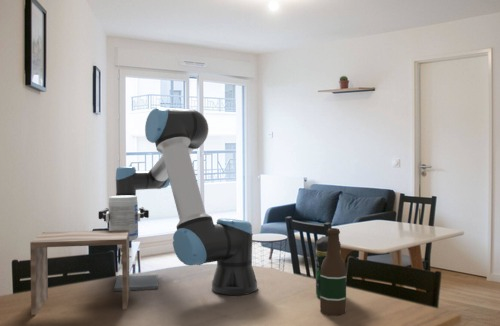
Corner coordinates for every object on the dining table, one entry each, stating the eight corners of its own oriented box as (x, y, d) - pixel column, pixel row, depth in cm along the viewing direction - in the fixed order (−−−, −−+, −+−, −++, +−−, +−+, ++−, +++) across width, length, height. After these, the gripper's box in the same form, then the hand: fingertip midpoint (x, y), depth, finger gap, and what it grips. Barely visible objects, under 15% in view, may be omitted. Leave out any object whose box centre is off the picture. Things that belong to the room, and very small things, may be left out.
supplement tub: (142, 240, 165) (142, 196, 164) (114, 243, 159) (114, 198, 159) (131, 235, 173) (131, 194, 172) (105, 238, 167) (104, 195, 167)
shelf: (126, 309, 142) (126, 239, 141) (31, 315, 137) (30, 242, 136) (129, 292, 158) (129, 229, 157) (43, 297, 152) (42, 232, 152)
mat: (157, 288, 162) (157, 285, 162) (114, 291, 159) (114, 288, 159) (157, 277, 176) (157, 274, 176) (117, 279, 173) (117, 276, 173)
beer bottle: (340, 318, 135) (341, 232, 134) (314, 313, 139) (315, 229, 138) (350, 310, 141) (351, 228, 141) (325, 305, 146) (326, 225, 145)
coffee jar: (315, 290, 161) (315, 234, 160) (339, 291, 160) (340, 235, 159) (315, 299, 151) (315, 240, 151) (341, 300, 150) (341, 240, 150)
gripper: (155, 218, 186) (157, 227, 164) (94, 220, 181) (88, 230, 159) (155, 198, 186) (157, 205, 164) (94, 200, 181) (87, 207, 159)
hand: (123, 217), depth 161 cm, fingers closed on supplement tub, 9 cm apart
